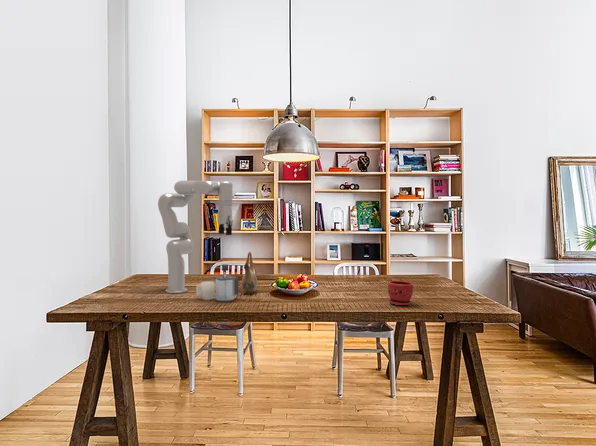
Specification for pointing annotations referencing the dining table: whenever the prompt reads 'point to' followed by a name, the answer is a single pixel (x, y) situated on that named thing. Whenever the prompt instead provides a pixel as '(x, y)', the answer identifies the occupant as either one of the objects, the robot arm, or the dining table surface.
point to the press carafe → (226, 288)
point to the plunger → (225, 269)
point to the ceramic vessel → (249, 276)
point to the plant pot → (400, 292)
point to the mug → (206, 290)
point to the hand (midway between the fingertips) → (225, 234)
